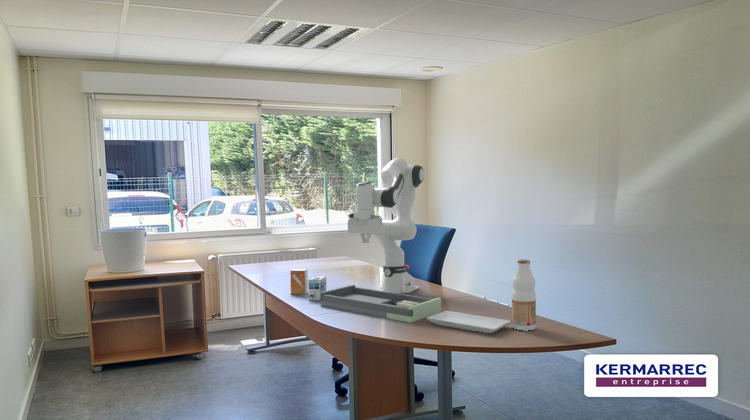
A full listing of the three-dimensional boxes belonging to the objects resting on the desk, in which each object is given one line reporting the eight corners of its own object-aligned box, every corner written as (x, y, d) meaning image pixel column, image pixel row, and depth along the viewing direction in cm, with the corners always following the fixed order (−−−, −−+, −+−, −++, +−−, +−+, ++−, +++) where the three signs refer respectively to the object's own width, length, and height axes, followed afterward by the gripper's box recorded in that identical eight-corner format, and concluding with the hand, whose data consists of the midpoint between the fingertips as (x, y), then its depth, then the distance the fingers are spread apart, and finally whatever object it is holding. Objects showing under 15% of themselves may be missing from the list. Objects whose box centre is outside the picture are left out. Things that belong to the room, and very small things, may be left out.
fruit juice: (515, 332, 223) (515, 262, 221) (508, 325, 232) (508, 258, 230) (539, 331, 223) (539, 261, 222) (531, 325, 233) (531, 258, 231)
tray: (445, 317, 249) (445, 309, 248) (512, 328, 229) (512, 320, 229) (425, 325, 235) (425, 317, 235) (494, 338, 216) (494, 329, 216)
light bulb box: (320, 300, 284) (320, 279, 283) (308, 300, 285) (307, 279, 284) (326, 296, 294) (326, 276, 294) (314, 296, 295) (314, 275, 295)
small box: (290, 294, 300) (290, 270, 299) (293, 292, 306) (292, 268, 305) (305, 294, 299) (304, 270, 298) (308, 292, 305) (307, 268, 305)
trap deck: (353, 297, 291) (353, 284, 291) (441, 311, 257) (441, 297, 257) (320, 305, 273) (320, 292, 272) (410, 322, 239) (410, 307, 238)
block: (404, 309, 253) (404, 300, 253) (419, 311, 248) (419, 302, 247) (396, 311, 248) (396, 302, 248) (411, 314, 243) (411, 305, 243)
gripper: (385, 215, 269) (386, 243, 270) (353, 213, 282) (354, 240, 283) (377, 216, 264) (378, 245, 265) (345, 214, 277) (346, 242, 278)
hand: (365, 242), depth 274 cm, fingers closed
